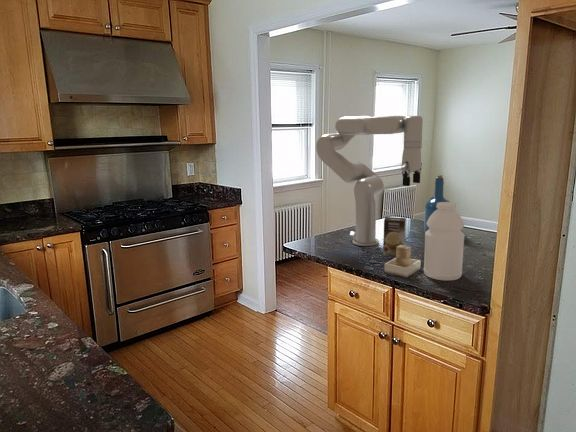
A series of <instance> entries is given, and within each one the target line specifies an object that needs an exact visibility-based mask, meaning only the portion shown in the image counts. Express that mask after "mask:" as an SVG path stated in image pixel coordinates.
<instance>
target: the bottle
mask: <svg viewBox="0 0 576 432" xmlns="http://www.w3.org/2000/svg"><path fill="white" fill-rule="evenodd" d="M456 207H457V206H456V203H454V202H450V201H449V202H439V203H437V205H436V208H438V209H437V210H435V211H434V212H433V213H432V214H431V216H430V217H429V219H428V221H427V223H426V224H427V226H428V227H429V229H428V230H427V231H426V232H425V231H424V258H423V259H424V260H423V263H424V264H423V273H424V275H425V276H427V277H428V278H430V279H434V280H438V281H446V282H447V281H457V280H458V279H460V278H461V277H462V275H463V262H464V246H465V237H466V236H465V234H464V232H462V230H463V228H464V227H465V224H464V221H463V219H462V217H461V215H460V214H459V213H458V211H457V210H456Z"/></svg>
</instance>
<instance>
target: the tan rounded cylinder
mask: <svg viewBox="0 0 576 432" xmlns="http://www.w3.org/2000/svg"><path fill="white" fill-rule="evenodd" d="M411 256H412V246H409V245H405V246H404V245H399V246H397V247H396V256H395V258H396V265H397V266H401V267H408V266H410V265H411V259H412V258H411Z"/></svg>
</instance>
